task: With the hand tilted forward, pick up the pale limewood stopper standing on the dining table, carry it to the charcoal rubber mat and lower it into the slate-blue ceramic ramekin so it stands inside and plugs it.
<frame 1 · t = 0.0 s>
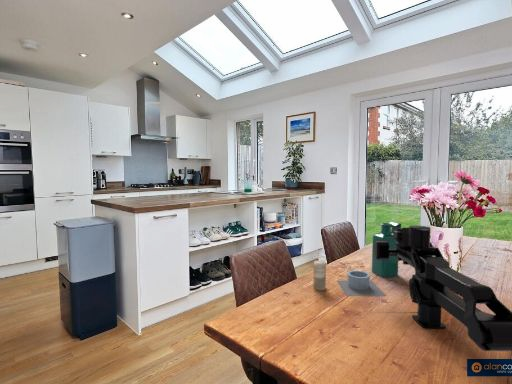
hand: (392, 244, 109), 17 cm above the table, tool horizontal, fingers open, 9 cm apart
stopper: (319, 288, 110), on the table
syrup box: (424, 278, 120), on the table
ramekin: (358, 285, 111), resting on mat
mat: (359, 288, 109), on the table
green bottle: (385, 274, 125), on the table
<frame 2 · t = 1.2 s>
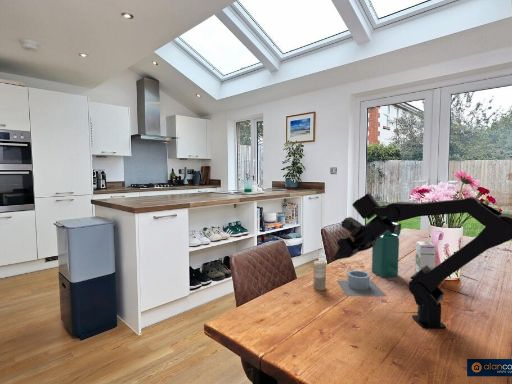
hand: (341, 255, 103), 14 cm above the table, tool tilted 45°, fingers open, 9 cm apart
nothing on the table moved.
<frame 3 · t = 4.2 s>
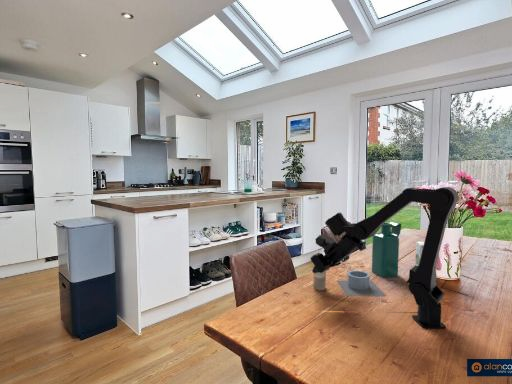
hand: (316, 270, 110), 7 cm above the table, tool tilted 45°, fingers closed on stopper, 4 cm apart
stopper: (319, 288, 110), on the table, touching gripper
everything else where it was.
when the fingers open (10 cm above the table, at t = 7.5 s): stopper drops 3 cm, resting on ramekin.
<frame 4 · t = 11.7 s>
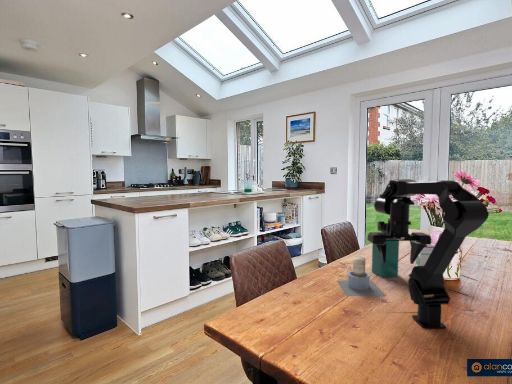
hand: (397, 263, 98), 13 cm above the table, tool pointing down, fingers open, 9 cm apart
stopper: (358, 284, 111), point 1 cm above the table, touching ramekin
everything else where it was.
at the end: stopper 0.1 cm off-centre on the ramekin, point 0.6 cm above the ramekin's base; stopper tilted 0°; the gripper is holding nothing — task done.
